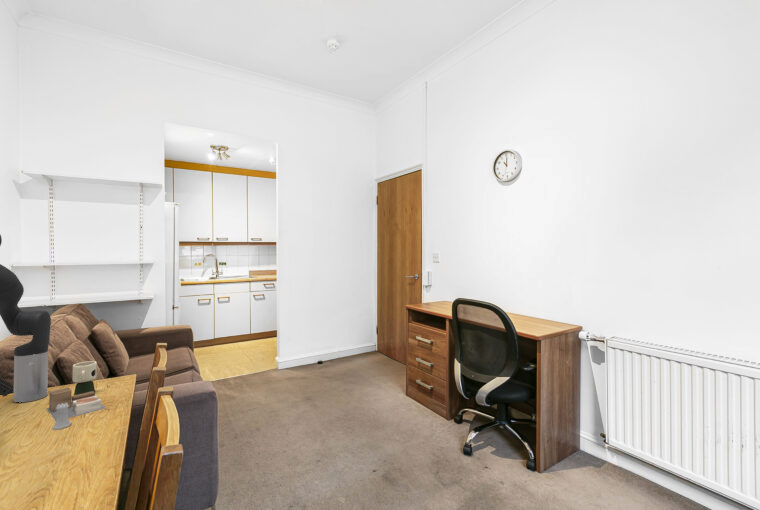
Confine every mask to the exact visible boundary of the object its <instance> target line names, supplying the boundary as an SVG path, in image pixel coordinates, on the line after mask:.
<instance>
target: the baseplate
mask: <svg viewBox="0 0 760 510" xmlns="http://www.w3.org/2000/svg"><path fill="white" fill-rule="evenodd" d="M104 409H107V407H106V406H105V405H103V404H102V403H101V409H98V410H94V411H90V412H86V413H83V414H79V415H76V413H75V412H74V411H73V410H72V401H71V408H68V409H67V410H68V412H67V415H68V419H71V418H75V417H77V416H82V415H86V414H89V413H90V414H91V413H93V412H98V411H100V410H104ZM46 410H47V412H48V413H49V414H50V415H51V417H52V418H53V420H54V421H55V422H56V420H57V414H56V413H57V411H56V412H51V410H50V409H49V407H47V408H46Z"/></svg>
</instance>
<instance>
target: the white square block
mask: <svg viewBox="0 0 760 510" xmlns="http://www.w3.org/2000/svg"><path fill="white" fill-rule="evenodd" d="M101 404H102V399H100V398H99V397H98V396H97V395H95V396H92V397H88V398H84V399H79V400H75V401H73V404H72V410H73V411H74V412H75V413H76V415H79V414H82V415H84V414H83V413H86V412H90V411H94V410H97V411H99V410H98V409H101ZM101 410H102V409H101ZM94 412H95V411H94ZM90 413H91V412H90ZM86 414H87V413H86ZM79 416H80V415H79Z"/></svg>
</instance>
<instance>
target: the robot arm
mask: <svg viewBox="0 0 760 510" xmlns="http://www.w3.org/2000/svg"><path fill="white" fill-rule="evenodd" d="M2 241H3V240H2V235H1V234H0V247H1V245H2ZM24 289H25V288H24V286H23V283H21V281H20V279H19V277H18V276H17V275H16V274H15V273H14V271H12V270H11V269H9V268H8V267H6V266H4V265H3V264H1V263H0V317H1V319H2V321H3V323H4V325H5V327H6V329H7V330H8V332H9V334H11V335H12V336H18V337H20V336H21V337H25V336H26V337H27V336H32V339H31V340H30V341H28V342H26V343H24V344H21V345H18V346H16V347H15V348H14V350H13V355H14V356H13V358H14V359H13V388H12V387H10V386H9V383H10V382H9V381H6V380H4V379H3V378H0V396H3V397H7V396H8V395H10V393H12V391H13V403H16V402H19V403H18V404H20V403H21V402H22V403H29V402H33V401H38V400H41V399H43V398H46V397H47V396H48V384H49V383H48V381H49V380H48V378H49V377H48V376H49V375H48V374H49V345H50V340H51V339H50V337H51V325H52V320H51V319H52V316H51V314H50V312H49V311H46V310H28V311H25V310H22V309H20V308H19V306H18V304H19V302H20V301H21V299H22V297H23V295H24V291H25V290H24Z"/></svg>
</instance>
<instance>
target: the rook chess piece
mask: <svg viewBox="0 0 760 510" xmlns="http://www.w3.org/2000/svg"><path fill="white" fill-rule="evenodd" d="M68 407H69V405H68V403H65V404H63V403H61V405H60V404H58V405H57V407H56V408H55V410H57V413H56V414H57V420H56V421H55V422H54V425H53V426H52V430H63V429H66V428H69V427H70V426H71V425H72V422H71V421H70V419H69V418H68V415H67V412H68V410H67V409H68Z"/></svg>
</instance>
